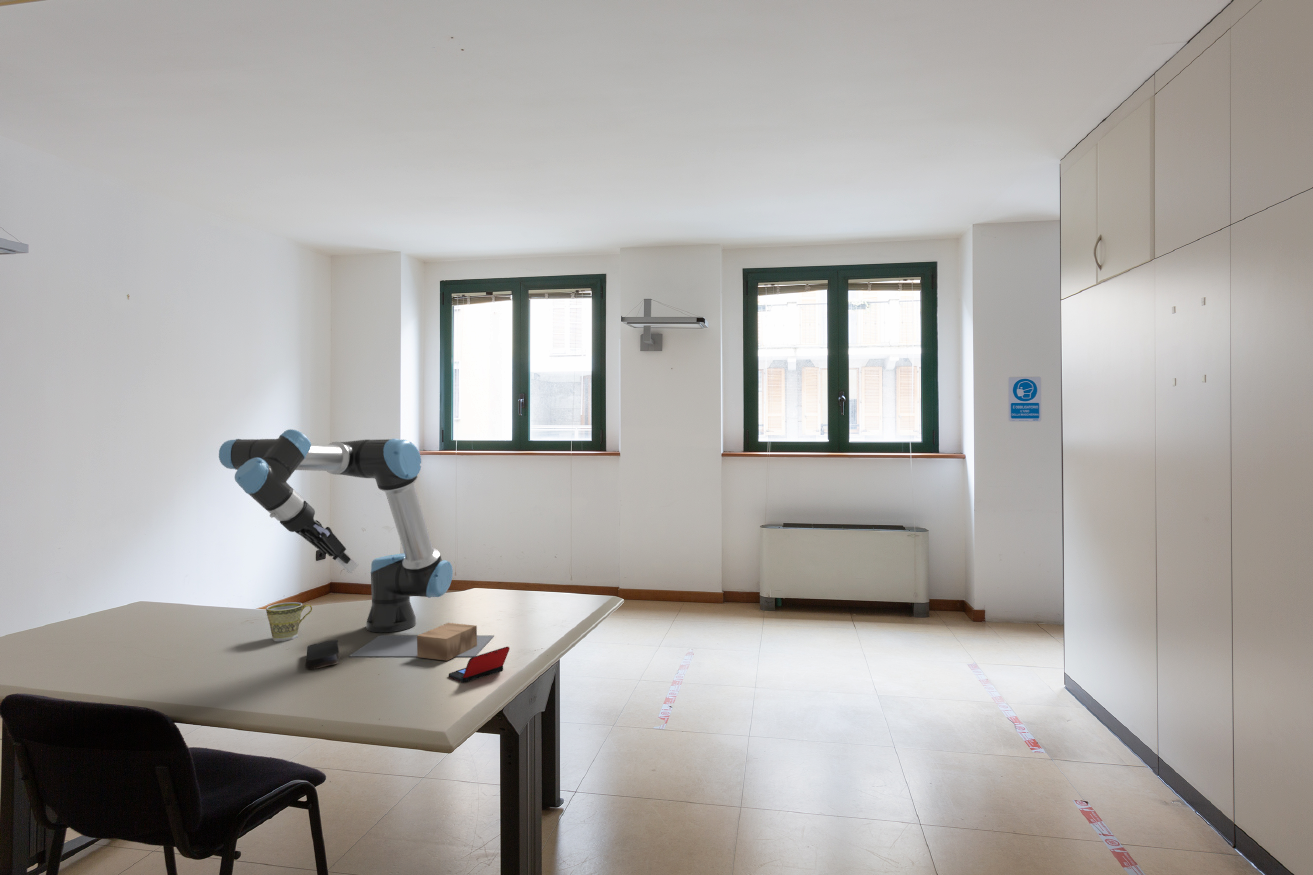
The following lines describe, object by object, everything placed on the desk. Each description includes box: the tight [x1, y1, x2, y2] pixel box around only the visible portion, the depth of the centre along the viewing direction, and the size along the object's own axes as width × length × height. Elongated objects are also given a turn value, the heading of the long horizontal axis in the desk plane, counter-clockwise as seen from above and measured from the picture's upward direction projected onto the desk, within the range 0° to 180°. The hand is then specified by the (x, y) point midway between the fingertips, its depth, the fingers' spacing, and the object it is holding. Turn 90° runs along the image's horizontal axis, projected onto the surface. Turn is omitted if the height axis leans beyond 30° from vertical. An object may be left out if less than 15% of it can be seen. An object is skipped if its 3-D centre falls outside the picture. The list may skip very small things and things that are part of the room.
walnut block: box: [416, 622, 478, 661], centre depth 207 cm, size 6×10×14 cm
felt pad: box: [348, 634, 495, 658], centre depth 213 cm, size 20×36×1 cm, turn 87°
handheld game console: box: [448, 646, 510, 684], centre depth 187 cm, size 12×11×7 cm
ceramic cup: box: [265, 601, 313, 642], centre depth 224 cm, size 13×10×10 cm
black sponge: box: [304, 639, 340, 670], centre depth 202 cm, size 16×8×4 cm, turn 25°
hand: (353, 568), depth 189 cm, fingers closed
